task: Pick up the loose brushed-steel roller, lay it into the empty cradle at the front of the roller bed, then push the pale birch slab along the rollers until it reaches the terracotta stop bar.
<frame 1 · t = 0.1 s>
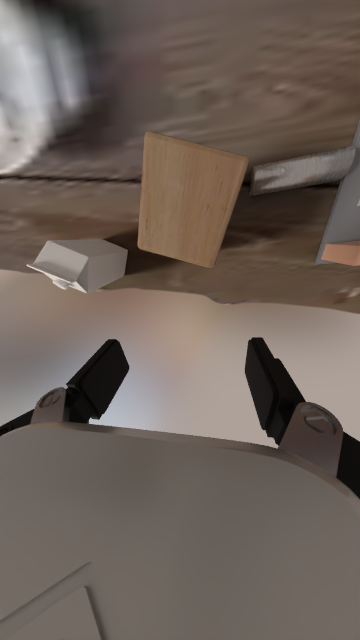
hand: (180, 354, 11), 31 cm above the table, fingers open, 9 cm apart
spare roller: (289, 177, 27), on the table
wooden block: (194, 224, 33), on the table
milk carton: (114, 258, 39), on the table
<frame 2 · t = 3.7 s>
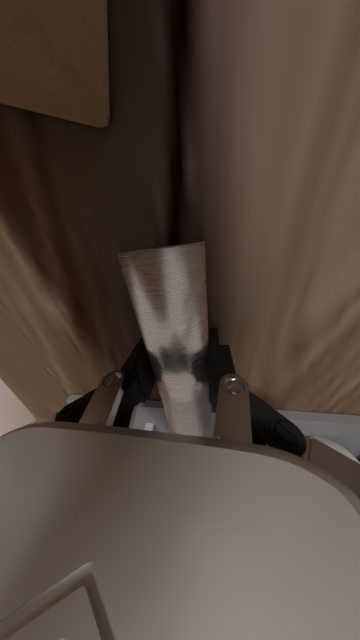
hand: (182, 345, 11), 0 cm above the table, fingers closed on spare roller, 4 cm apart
roller bed: (221, 446, 20), on the table
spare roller: (183, 340, 12), on the table, touching gripper
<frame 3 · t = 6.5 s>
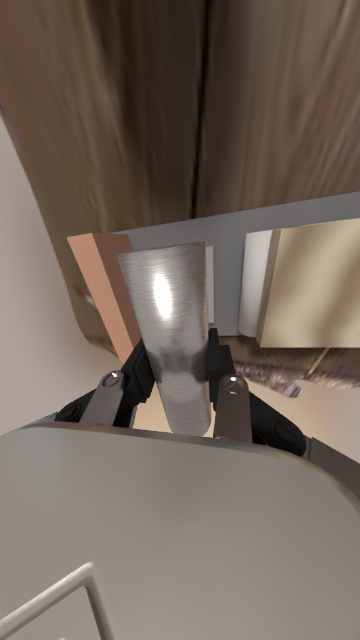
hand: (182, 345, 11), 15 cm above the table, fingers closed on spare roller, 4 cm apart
slab: (344, 292, 16), point 6 cm above the table, slide at 0.0 cm
roller bed: (231, 284, 23), on the table
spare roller: (182, 341, 12), point 15 cm above the table, touching gripper
when the fingers open (3 cm above the table, at t = 9.2 s): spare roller drops 1 cm, resting on roller bed.
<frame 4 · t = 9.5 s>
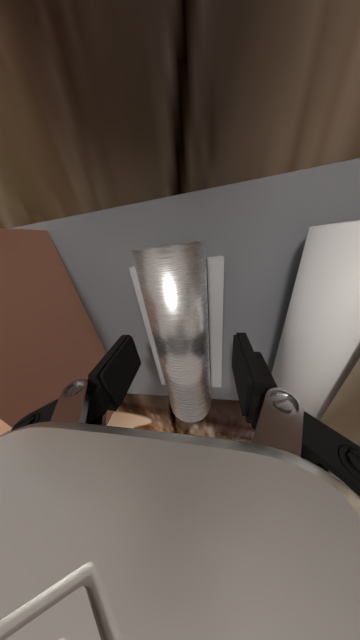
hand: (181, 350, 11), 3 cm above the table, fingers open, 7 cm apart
roller bed: (254, 325, 13), on the table
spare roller: (185, 331, 13), point 1 cm above the table, touching roller bed
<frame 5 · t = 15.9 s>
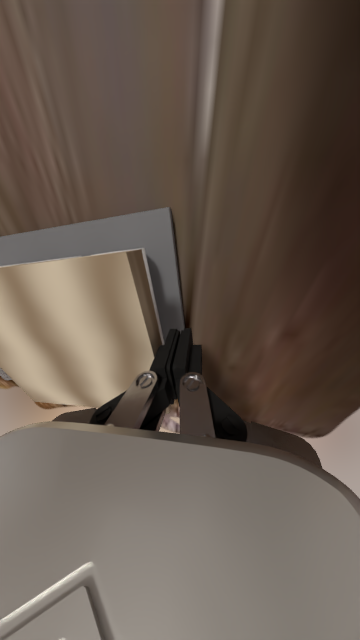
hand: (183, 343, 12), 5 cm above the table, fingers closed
slab: (71, 349, 13), point 6 cm above the table, slide at 1.2 cm, touching gripper
roller bed: (45, 318, 20), on the table
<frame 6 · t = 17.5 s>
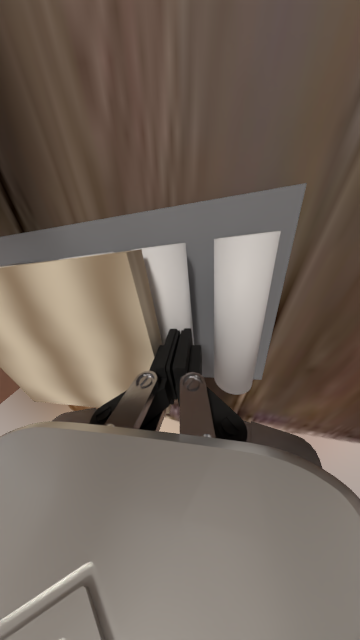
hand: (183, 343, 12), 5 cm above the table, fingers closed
slab: (71, 349, 13), point 6 cm above the table, slide at 10.4 cm, touching gripper
roller bed: (106, 316, 18), on the table
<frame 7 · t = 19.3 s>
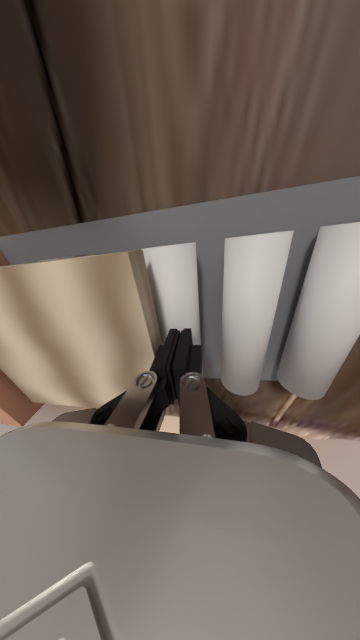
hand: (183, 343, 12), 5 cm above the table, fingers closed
slab: (71, 349, 13), point 6 cm above the table, slide at 17.1 cm, touching gripper
roller bed: (157, 314, 17), on the table
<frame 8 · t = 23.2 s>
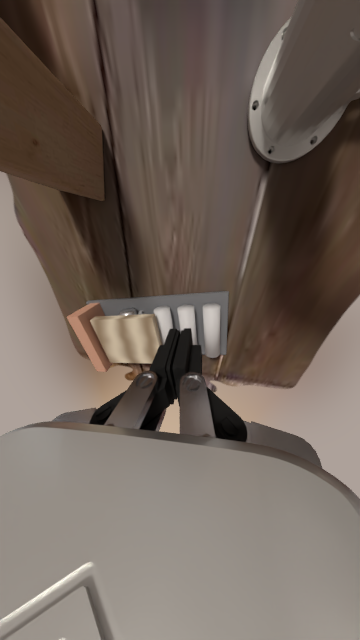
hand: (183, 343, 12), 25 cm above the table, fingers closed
slab: (130, 340, 38), point 6 cm above the table, slide at 17.0 cm
roller bed: (158, 327, 42), on the table
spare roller: (138, 329, 42), point 1 cm above the table, touching roller bed
wooden block: (79, 161, 27), on the table
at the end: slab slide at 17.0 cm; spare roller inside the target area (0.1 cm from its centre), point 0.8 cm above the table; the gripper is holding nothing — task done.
